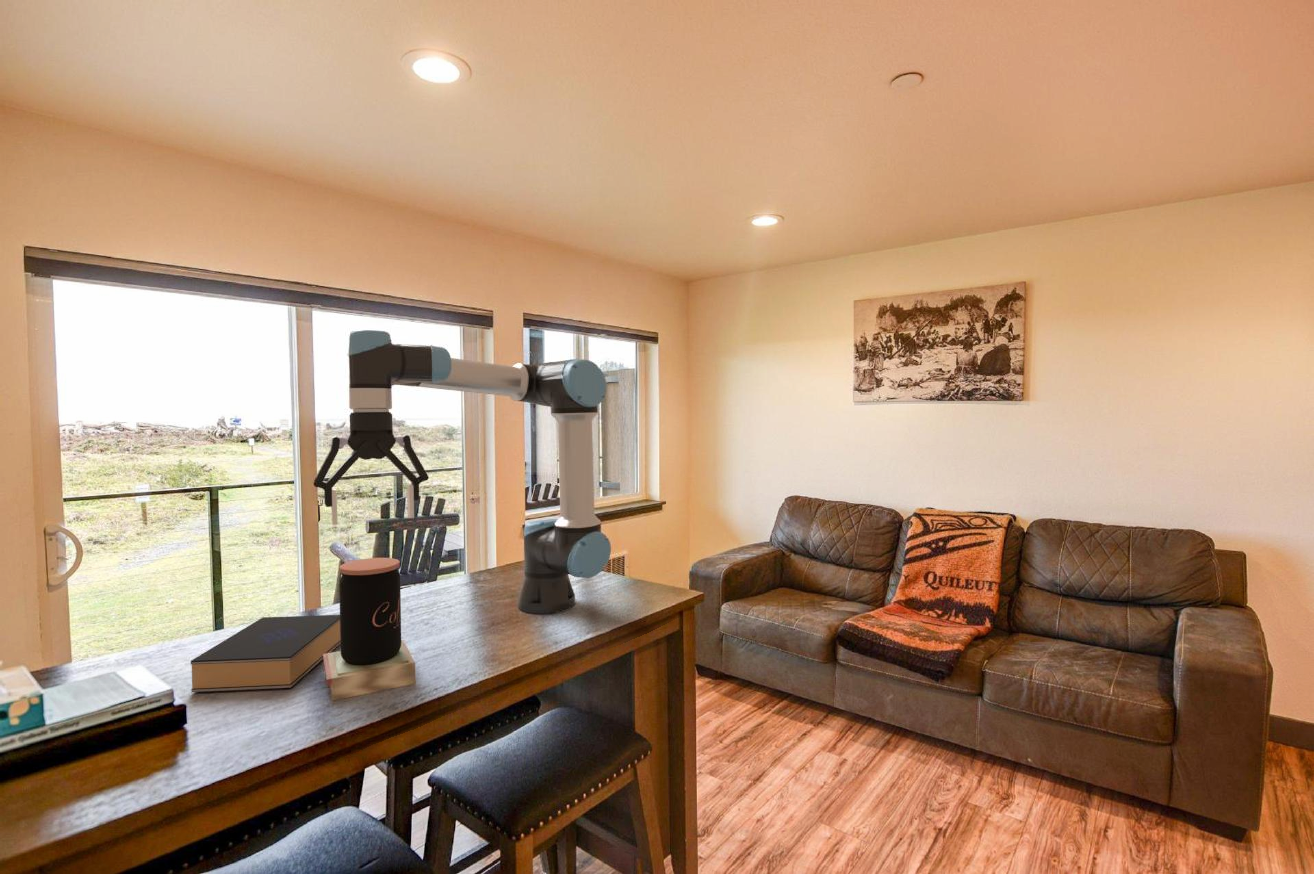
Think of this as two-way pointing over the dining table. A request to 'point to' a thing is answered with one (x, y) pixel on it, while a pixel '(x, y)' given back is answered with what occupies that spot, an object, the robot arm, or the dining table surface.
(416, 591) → the dining table surface
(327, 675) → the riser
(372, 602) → the coffee jar
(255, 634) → the book
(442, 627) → the dining table surface
